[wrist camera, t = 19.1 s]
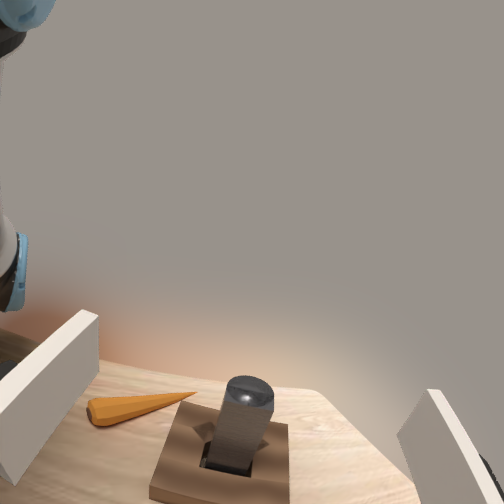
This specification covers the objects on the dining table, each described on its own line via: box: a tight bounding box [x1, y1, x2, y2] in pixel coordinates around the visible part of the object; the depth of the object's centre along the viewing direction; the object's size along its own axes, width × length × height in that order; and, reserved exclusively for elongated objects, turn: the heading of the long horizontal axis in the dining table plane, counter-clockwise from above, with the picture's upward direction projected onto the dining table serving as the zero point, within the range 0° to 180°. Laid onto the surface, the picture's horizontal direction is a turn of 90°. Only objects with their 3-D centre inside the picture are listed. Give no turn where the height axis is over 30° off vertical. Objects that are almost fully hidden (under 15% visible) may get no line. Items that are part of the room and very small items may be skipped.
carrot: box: [86, 392, 197, 426], centre depth 42 cm, size 20×4×4 cm, turn 133°
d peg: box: [204, 376, 274, 477], centre depth 33 cm, size 5×5×16 cm
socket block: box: [149, 400, 290, 504], centre depth 34 cm, size 16×16×4 cm
